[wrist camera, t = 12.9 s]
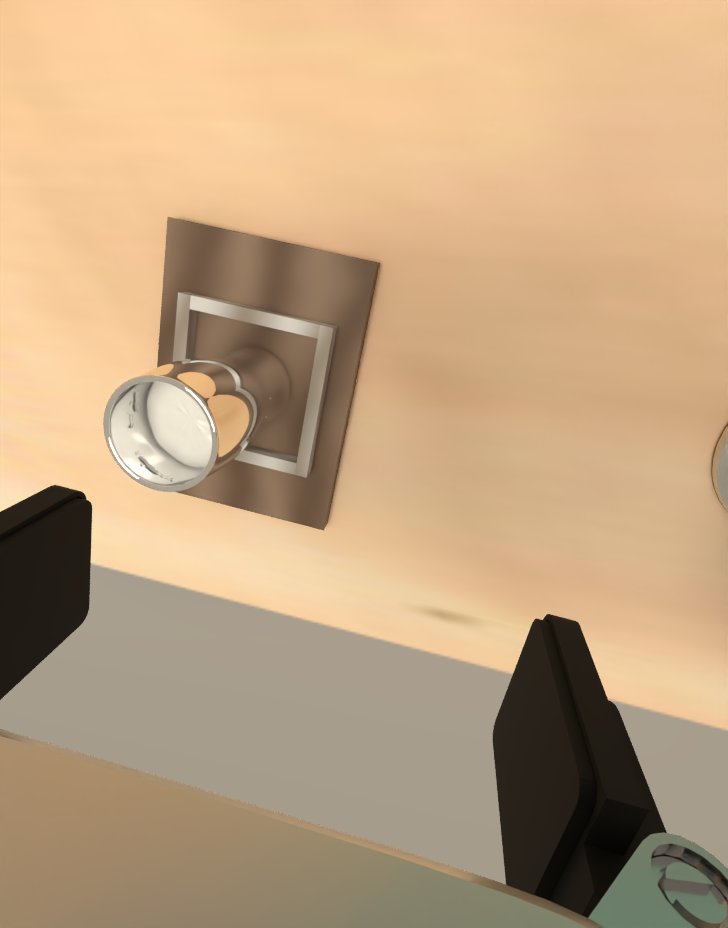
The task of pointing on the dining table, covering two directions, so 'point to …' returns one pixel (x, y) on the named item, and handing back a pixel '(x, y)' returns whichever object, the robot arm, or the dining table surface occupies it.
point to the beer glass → (193, 416)
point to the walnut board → (286, 337)
